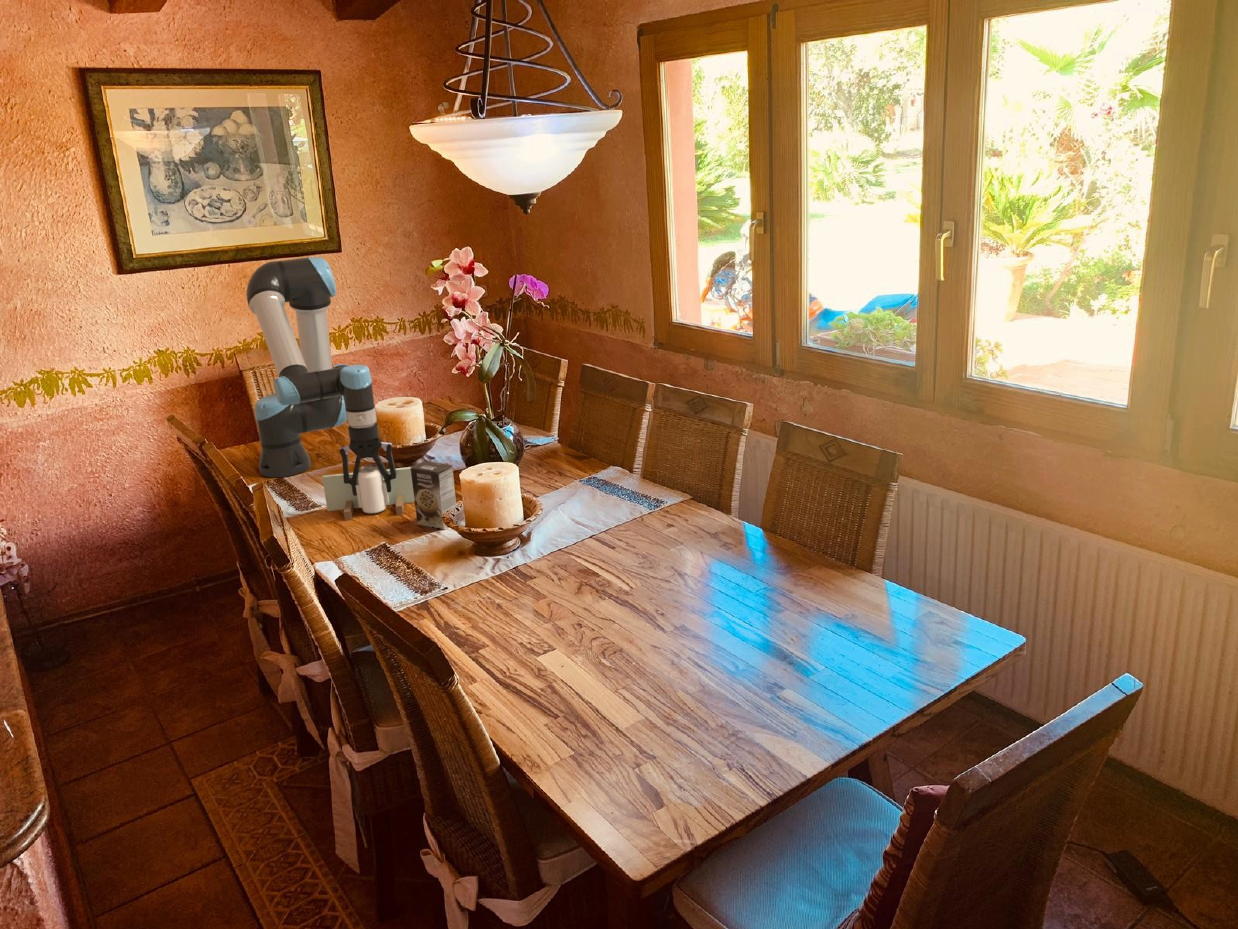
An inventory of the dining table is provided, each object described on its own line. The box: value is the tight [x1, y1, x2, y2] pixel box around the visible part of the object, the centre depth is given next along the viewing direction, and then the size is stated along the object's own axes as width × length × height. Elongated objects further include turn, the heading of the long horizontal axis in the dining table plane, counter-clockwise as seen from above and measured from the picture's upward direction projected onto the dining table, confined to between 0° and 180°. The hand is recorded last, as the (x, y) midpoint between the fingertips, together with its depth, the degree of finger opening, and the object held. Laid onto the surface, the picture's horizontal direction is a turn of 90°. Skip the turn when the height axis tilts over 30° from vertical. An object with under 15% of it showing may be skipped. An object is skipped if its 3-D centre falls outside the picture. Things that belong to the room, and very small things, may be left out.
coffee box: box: [410, 460, 457, 530], centre depth 239 cm, size 9×6×16 cm
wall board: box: [321, 466, 415, 521], centre depth 250 cm, size 9×26×10 cm, turn 100°
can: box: [357, 464, 387, 515], centre depth 250 cm, size 6×6×12 cm
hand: (374, 504), depth 251 cm, fingers closed on can, 6 cm apart
